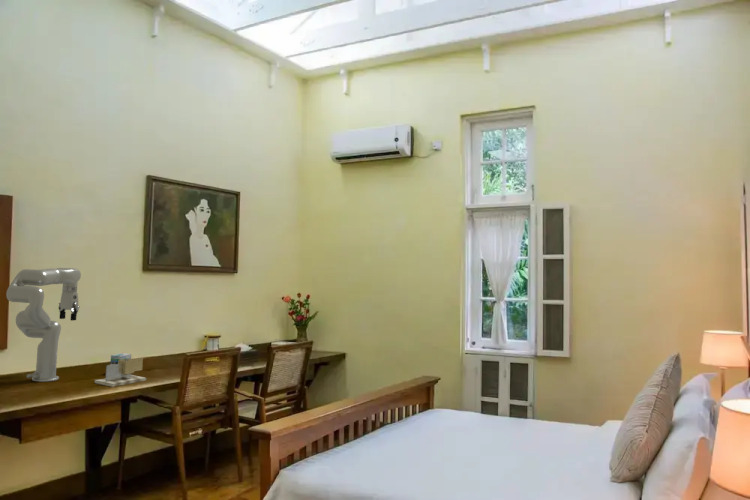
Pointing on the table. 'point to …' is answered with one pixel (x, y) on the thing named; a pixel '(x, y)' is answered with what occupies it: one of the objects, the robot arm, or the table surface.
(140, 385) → the table surface
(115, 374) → the steel hinge leaf
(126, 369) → the tan piece
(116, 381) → the white mounting board
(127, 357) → the light bulb box
